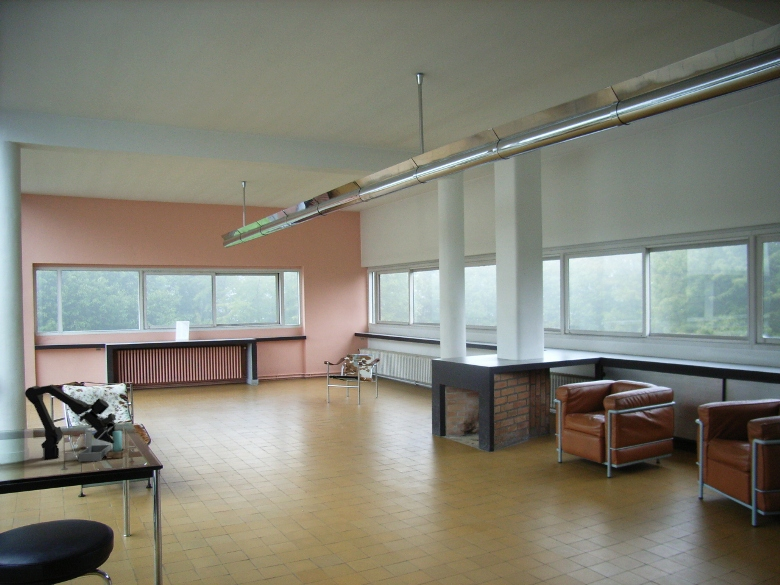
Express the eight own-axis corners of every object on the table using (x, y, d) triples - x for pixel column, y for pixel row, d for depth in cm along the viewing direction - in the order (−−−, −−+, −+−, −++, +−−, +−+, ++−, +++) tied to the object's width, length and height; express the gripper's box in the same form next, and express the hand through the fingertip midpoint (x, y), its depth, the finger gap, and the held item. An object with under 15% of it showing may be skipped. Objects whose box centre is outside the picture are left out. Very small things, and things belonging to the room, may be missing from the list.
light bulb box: (102, 444, 356) (102, 425, 356) (109, 445, 352) (109, 426, 352) (84, 448, 347) (84, 428, 347) (91, 449, 344) (91, 430, 344)
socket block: (106, 458, 326) (106, 452, 326) (111, 454, 334) (111, 448, 334) (122, 457, 327) (122, 452, 327) (127, 453, 335) (127, 448, 335)
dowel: (114, 457, 327) (114, 432, 327) (111, 456, 330) (111, 431, 330) (123, 456, 330) (123, 431, 330) (119, 454, 333) (119, 430, 333)
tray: (78, 461, 320) (78, 453, 320) (90, 452, 337) (90, 445, 337) (100, 460, 321) (100, 453, 321) (111, 452, 338) (111, 444, 338)
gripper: (99, 413, 320) (122, 433, 322) (111, 406, 339) (132, 425, 340) (83, 428, 319) (106, 449, 321) (96, 421, 338) (117, 440, 339)
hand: (116, 440), depth 330 cm, fingers open, 9 cm apart
